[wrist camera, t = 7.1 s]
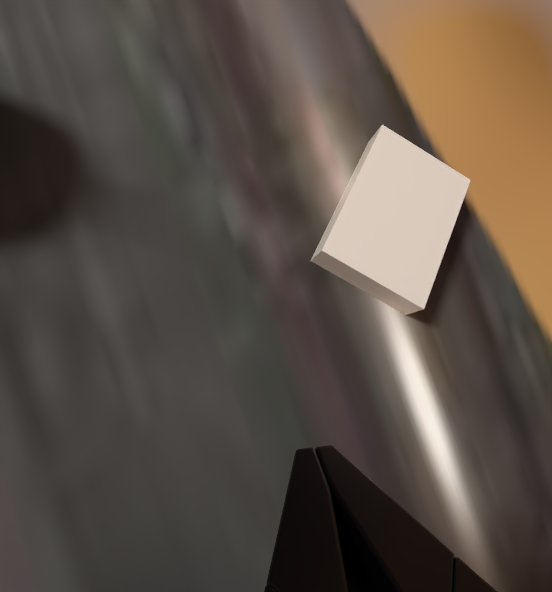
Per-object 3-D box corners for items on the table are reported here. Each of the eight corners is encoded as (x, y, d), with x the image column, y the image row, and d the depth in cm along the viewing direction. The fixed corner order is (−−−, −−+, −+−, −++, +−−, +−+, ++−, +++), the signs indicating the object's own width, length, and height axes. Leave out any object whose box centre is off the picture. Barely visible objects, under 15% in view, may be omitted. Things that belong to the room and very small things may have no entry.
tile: (424, 309, 23) (470, 180, 26) (321, 250, 22) (382, 124, 25) (402, 316, 25) (447, 196, 28) (308, 262, 24) (365, 145, 27)
